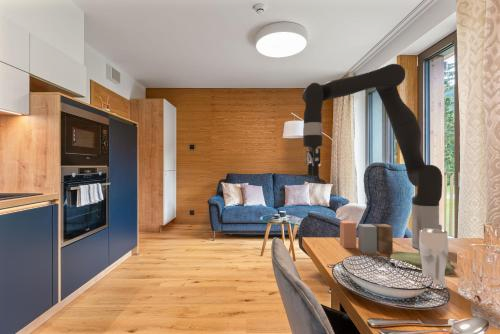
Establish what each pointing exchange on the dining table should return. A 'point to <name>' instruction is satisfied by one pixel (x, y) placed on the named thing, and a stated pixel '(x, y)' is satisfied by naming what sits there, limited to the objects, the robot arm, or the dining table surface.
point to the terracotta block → (348, 234)
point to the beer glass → (433, 253)
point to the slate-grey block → (367, 238)
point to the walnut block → (384, 238)
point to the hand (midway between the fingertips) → (313, 175)
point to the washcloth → (417, 260)
